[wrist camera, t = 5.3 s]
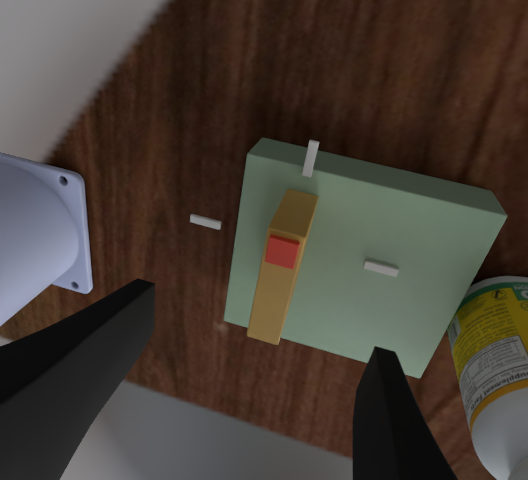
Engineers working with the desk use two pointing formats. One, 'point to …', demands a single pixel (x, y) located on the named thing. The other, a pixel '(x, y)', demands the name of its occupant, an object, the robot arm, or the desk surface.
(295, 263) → the block
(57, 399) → the robot arm
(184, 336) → the desk surface
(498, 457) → the supplement bottle
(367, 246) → the lock plate
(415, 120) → the desk surface
